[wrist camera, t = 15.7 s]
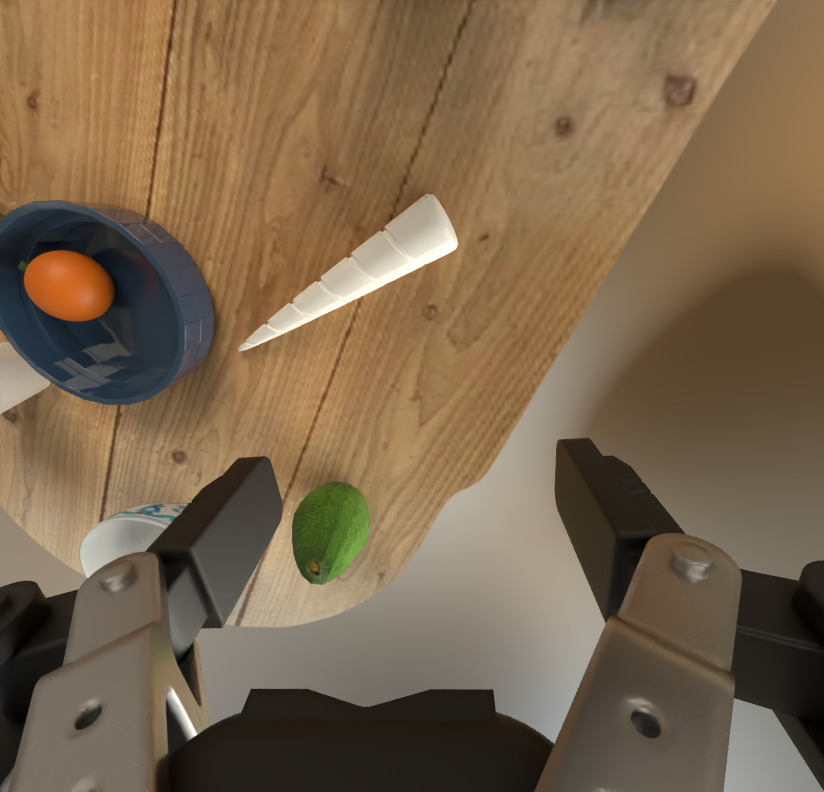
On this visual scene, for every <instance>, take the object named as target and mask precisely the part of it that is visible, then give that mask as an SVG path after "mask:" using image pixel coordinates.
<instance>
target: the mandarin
mask: <svg viewBox="0 0 824 792" xmlns="http://www.w3.org/2000/svg"><path fill="white" fill-rule="evenodd" d="M18 269H20V270H23V271H25V274H24V285H25V289H26V292H27V294H28V296H29V297H30V299H31V300H32V301H33V302H34V303H35V305H37V306H38V307H39V308H40V309H41V310H43V311H44V312H46V313H48V314H49V315H51V316H54V317H56V318H59V319H62V320H67V321H87V320H92V319H95V318H97V317H99V316H101V315H102V314H104V313H105V312H106V311H107V310H108V309H109V308H110V307H111V305H112V303H113V301H114V297H115V288H114V284H113V281H112V279H111V277H110V275H109V274H108V272H107V271H106V270H105V269H104V268H103V267H102V266H101V265H100V264H99V263H98V262H96V261H95V260H93V259H92V258H90V257H88V256H86V255H83V254H80V253H77V252H73V251H65V250H57V251H50V252H46V253H44V254H41V255H39V256H37V257H36V258H35V259H33V260H32V261H31V262H30V263H29V264H28V263H26V262H23V261H21V262H20V264H19V266H18Z"/></svg>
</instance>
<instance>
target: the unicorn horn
mask: <svg viewBox="0 0 824 792" xmlns="http://www.w3.org/2000/svg"><path fill="white" fill-rule="evenodd" d="M457 245H458V242H457V237H456V234H455V231H454V229H453V227H452V224H451V222H450V220H449V218H448V216H447V214H446V213H445V211H444V209H443V207H442V206H441V204H440V202H439V201H438V199H437V198H436V197H435V196H434V195H433V194H426V195H424V196H423V197H421V198H420V199H418V200H417V201H416V202H415V203H414V204H412V205H411V206H410V207H409V208H407V209H406V210H405V211H404V212H402V213H401V214H400V215H398V216H397V217H396V218H395V219H393V220H392V221H391V222H390V223H388V224H387V225H386V226H385V231H383V232H381V231H378V232H377V233H376V234H374V235H373V236H372V237H371V238H369V239H368V240H367V241H365V242H364V243H363V244H362V245H360V246H359V247H358V248H357V249H355V250H354V251H353V252H351V255H352V256H351V257H350V258H349V259H348V258H347V257H345V258H344V259H343V260H341V261H340V262H339V263H337V264H336V265H335V266H334V267H332V268H331V269H330V270H329V271H327V272H326V273H325V274H324V275H322V276H321V279H322V280H321V281H320V282H317V281H315V282H314V283H312V284H311V285H310V286H309V287H307V288H306V289H305V290H304V291H303V292H301V293H300V294H299V295H298V296H296V297H295V298H294V299H293V301H294V302H293V303H292V304H290V303H288V304H287V305H285V306H284V307H283V308H282V309H281V310H280V311H278V312H277V313H276V314H275V315H274V316H272V317H271V318H270V319H269V320H268V324H267V325H265V324H263V325H262V326H261V327H260V328H259V329H257V330H256V331H255V332H254V333H253V334H252V335H251V336H250V337H249V338H248V339H247V340H246V341H245V342H244V344H242V345H241V346H240V347H239V349H238V351H243V350H246V349H249V348H252V347H254V346H257V345H259V344H261V343H264V342H266V341H268V340H270V339H273V338H275V337H277V336H279V335H282V334H284V333H286V332H288V331H290V330H292V329H294V328H296V327H299V326H301V325H303V324H305V323H307V322H309V321H311V320H313V319H315V318H317V317H319V316H321V315H324V314H326V313H328V312H330V311H332V310H334V309H336V308H338V307H340V306H342V305H344V304H346V303H348V302H350V301H352V300H354V299H357V298H359V297H361V296H363V295H365V294H367V293H369V292H371V291H373V290H375V289H377V288H379V287H381V286H383V285H385V284H387V283H388V282H391V281H393V280H395V279H397V278H399V277H401V276H403V275H405V274H407V273H410V272H412V271H414V270H416V269H418V268H420V267H422V266H423V265H424V264H428V263H430V262H432V261H434V260H436V259H438V258H440V257H442V256H444V255H446V254H449V253H450V252H452V251H453V250H455V249H456V247H457Z"/></svg>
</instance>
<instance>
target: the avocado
mask: <svg viewBox="0 0 824 792" xmlns="http://www.w3.org/2000/svg"><path fill="white" fill-rule="evenodd" d="M369 527H370V517H369V510H368V505H367V502H366V500H365V498H364V496H363V495H362V494H361V493H360V492H359V490H357V489H356V488H354V487H353V486H351V485H349V484H345V483H341V482H332V483H328V484H325V485H323V486H321V487H318V488H316V489H315V490H313V491H312V492H310V493H309V494H308V495H307V496H306V497H305V498H304V499H303V500H302V502H301V503H300V505H299V507H298V508H297V510H296V512H295V514H294V518H293V523H292V543H293V552H294V557H295V561H296V564H297V566H298V568H299V570H300V572H301V574H302V576H303V577H304V578H305V579H306V580H308V581H309V582H310V583H311V584H321V585H323V584H325V583H327V582H329V581H331V580H333V579H335V578H336V577H338V576H339V575H341V574H342V573H343V572H344V571H345V569H346V568H347V567H348V566H349V565H350V563H351V562H352V561H353V559H354V558H355V557H356V556H357V554H358V553H359V552H360V550H361V549H362V548H363V547H364V544H365V542H366V540H367V537H368V532H369Z"/></svg>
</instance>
